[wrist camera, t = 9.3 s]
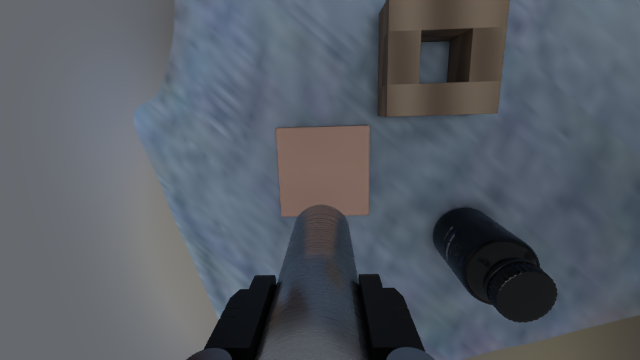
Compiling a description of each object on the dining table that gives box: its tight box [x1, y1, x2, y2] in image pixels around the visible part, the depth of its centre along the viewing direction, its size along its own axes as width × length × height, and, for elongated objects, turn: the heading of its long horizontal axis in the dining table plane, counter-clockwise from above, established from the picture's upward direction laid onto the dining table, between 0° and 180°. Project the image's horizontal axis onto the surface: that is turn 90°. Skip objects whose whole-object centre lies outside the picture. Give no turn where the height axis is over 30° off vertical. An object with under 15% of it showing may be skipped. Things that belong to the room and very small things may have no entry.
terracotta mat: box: [276, 125, 370, 217], centre depth 33 cm, size 10×10×1 cm
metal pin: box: [255, 205, 371, 360], centre depth 10 cm, size 3×3×16 cm
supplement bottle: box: [434, 208, 557, 322], centre depth 29 cm, size 7×7×12 cm
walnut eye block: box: [378, 0, 510, 117], centre depth 28 cm, size 10×10×5 cm
